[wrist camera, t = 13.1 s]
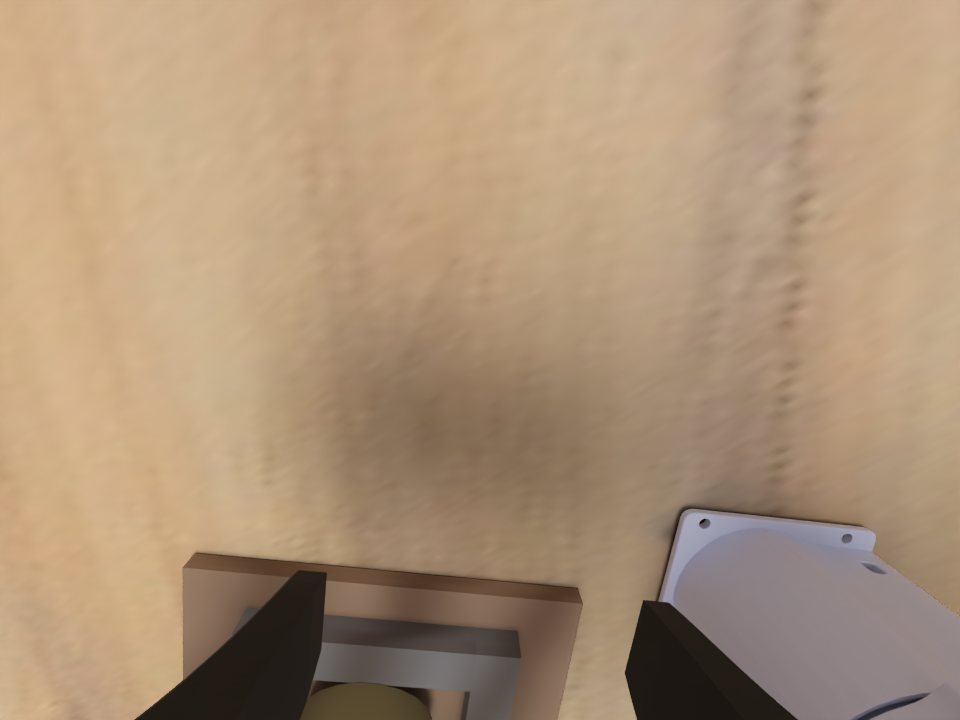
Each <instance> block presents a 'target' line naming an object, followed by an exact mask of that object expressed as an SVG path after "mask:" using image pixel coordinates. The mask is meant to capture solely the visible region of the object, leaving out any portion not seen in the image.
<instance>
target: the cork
mask: <svg viewBox="0 0 960 720" xmlns="http://www.w3.org/2000/svg"><path fill="white" fill-rule="evenodd" d="M300 720H432V717H431V714H430V712H429V710H428V708H427V706H426V705H424V704H423V703H422V702H421V701H420V700H419V699H418V698H417V697H415V696H413V695H411V694H409V693H407V692H405V691H403V690H401V689H397V688H393V687H389V686H385V685H381V684H371V683H349V684H340V685H335V686H332V687H329V688H326V689H323V690H320V691H318V692H317V693H315V694H314V695H312V696H311V697H310V698H308V699H307V702H306V704H305V707H304V710H303V712H302V715H301V717H300Z"/></svg>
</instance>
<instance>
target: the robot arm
mask: <svg viewBox="0 0 960 720" xmlns="http://www.w3.org/2000/svg"><path fill="white" fill-rule="evenodd" d="M702 519H706V520H705V522H704V523H702V524H699V523H700V521H701V520H702ZM843 535H845V536H844V537H843ZM875 542H876V535H875V534H874V533H873V532H872V531H871V530H869V529H868V528H865V527H859V526H849V525H840V524H831V523H821V522H812V521H803V520H793V519H784V518H775V517H765V516H756V515H746V514H737V513H728V512H718V511H709V510H700V509H688V510H686V511H684V512H683V513H682V515H681V517H680V521H679V524H678V528H677V532H676V536H675V540H674V544H673V547H672V551H671V555H670V559H669V563H668V566H667V570H666V574H665V578H664V582H663V585H662V589H661V593H660V597H659V601H647V600H643V604H642V607H641V611H640V615H639V619H638V623H637V627H636V631H635V635H634V639H633V643H632V647H631V651H630V655H629V658H628V662H627V666H626V670H625V675H626V679H627V683H628V687H629V691H630V695H631V699H632V703H633V706H634V710H635V714H636V717H637V720H960V617H959V616H958V615H956V614H955V613H954V612H952V611H951V610H950V609H948V608H947V607H946V606H944V605H943V604H941V603H940V602H939V601H937V600H936V599H935V598H933V597H932V596H930V595H929V594H928V593H926V592H925V591H924V590H922V589H921V588H920V587H918V586H917V585H915V584H914V583H913V582H911V581H910V580H909V579H907V578H906V577H905V576H903V575H902V574H900V573H899V572H898V571H896V570H895V569H894V568H892V567H891V566H890V565H888V564H887V563H885V562H884V561H883V560H881V559H880V558H879V557H877V556H876V555H874V554H873V553H872V550H873V547H874V545H875ZM326 580H327V572H316V571H305V570H298V571H297V572H295V573H294V574H293V575H292V576H291V577H290V578H289V579H288V580H287V581H286V582H285V584H284V585H283V586H282V587H281V588H280V589H279V590H278V591H277V592H276V593H275V594H274V595H273V596H272V597H271V598H270V599H269V600H268V601H267V602H266V603H265V604H264V605H263V606H262V607H261V608H260V609H259V610H258V611H257V612H256V613H255V615H254V616H253V617H251V618H250V619H249V620H248V621H247V622H246V623H245V624H244V625H243V626H242V627H241V628H240V629H239V630H238V631H237V632H236V633H235V634H234V635H233V636H232V637H231V638H230V639H229V640H228V641H226V642H225V643H224V644H223V645H222V646H221V647H220V648H219V649H218V650H217V651H216V652H215V653H213V654H212V655H211V656H210V657H209V658H208V659H207V660H206V661H204V662H203V663H202V664H201V665H200V666H199V667H198V668H196V669H195V670H194V671H193V672H192V673H191V674H190V675H188V676H187V677H186V678H185V679H184V680H183V681H182V682H181V683H179V684H178V685H177V686H176V687H175V688H173V689H172V690H171V691H170V692H169V693H167V694H166V695H165V696H164V697H162V698H161V699H160V700H159V701H158V702H156V703H155V704H154V705H153V706H151V707H150V708H149V709H148V710H146V711H145V712H144V713H142V714H141V715H140V716H139V717H137V718H136V719H135V720H300V717H301V715H302V712H303V710H304V707H305V704H306V702H307V698H308V695H309V691H310V688H311V685H312V681H313V678H314V674H315V671H316V667H317V664H318V660H319V656H320V653H321V648H322V634H323V621H324V607H325V593H326Z"/></svg>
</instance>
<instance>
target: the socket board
mask: <svg viewBox="0 0 960 720" xmlns="http://www.w3.org/2000/svg"><path fill="white" fill-rule="evenodd" d="M298 570H305V571H316V572H327V580H326V593H325V607H324V621H323V634H322V648H321V653H320V656H319V660H318V664H317V667H316V671H315V674H314V678H313V681H312V685H311V688H310V691H309V695H308V698H310V697H311V696H312V695H314V694H315V693H317V692H318V691H320V690H323V689H326V688H329V687H332V686H335V685H340V684H349V683H371V684H381V685H385V686H389V687H393V688H397V689H401V690H403V691H405V692H407V693H409V694H411V695H413V696H415V697H417V698H418V699H419V700H420V701H421V702H422V703H423V704H424V705H426V706H427V708H428V710H429V712H430V714H431V717H432V720H557V719H558V714H559V710H560V705H561V701H562V696H563V692H564V687H565V683H566V678H567V673H568V669H569V664H570V660H571V655H572V651H573V646H574V642H575V637H576V632H577V628H578V623H579V619H580V614H581V610H582V605H583V603H582V600H581V597H580V594H579V591H578V588H567V587H556V586H545V585H534V584H523V583H513V582H502V581H491V580H480V579H469V578H459V577H448V576H437V575H426V574H415V573H405V572H394V571H383V570H372V569H361V568H350V567H340V566H329V565H318V564H307V563H296V562H286V561H275V560H264V559H253V558H242V557H232V556H221V555H210V554H199V553H195V554H194V555H193V556H192V558H191V559H190V560H189V561H188V562H187V563H186V564H185V566H184V567H183V680H184V679H185V678H186V677H187V676H188V675H190V674H191V673H192V672H193V671H194V670H195V669H196V668H198V667H199V666H200V665H201V664H202V663H203V662H204V661H206V660H207V659H208V658H209V657H210V656H211V655H212V654H213V653H215V652H216V651H217V650H218V649H219V648H220V647H221V646H222V645H223V644H224V643H225V642H226V641H228V640H229V639H230V638H231V637H232V636H233V635H234V634H235V633H236V632H237V631H238V630H239V629H240V628H241V627H242V626H243V625H244V624H245V623H246V622H247V621H248V620H249V619H250V618H251V617H253V616H254V615H255V613H256V612H257V611H258V610H259V609H260V608H261V607H262V606H263V605H264V604H265V603H266V602H267V601H268V600H269V599H270V598H271V597H272V596H273V595H274V594H275V593H276V592H277V591H278V590H279V589H280V588H281V587H282V586H283V585H284V584H285V582H286V581H287V580H288V579H289V578H290V577H291V576H292V575H293V574H294V573H295V572H297V571H298ZM308 698H307V699H308Z"/></svg>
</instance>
